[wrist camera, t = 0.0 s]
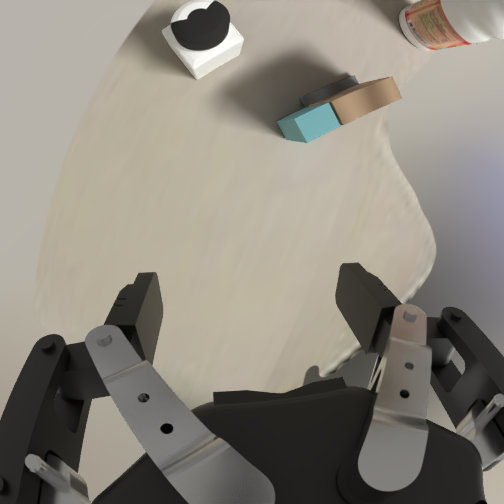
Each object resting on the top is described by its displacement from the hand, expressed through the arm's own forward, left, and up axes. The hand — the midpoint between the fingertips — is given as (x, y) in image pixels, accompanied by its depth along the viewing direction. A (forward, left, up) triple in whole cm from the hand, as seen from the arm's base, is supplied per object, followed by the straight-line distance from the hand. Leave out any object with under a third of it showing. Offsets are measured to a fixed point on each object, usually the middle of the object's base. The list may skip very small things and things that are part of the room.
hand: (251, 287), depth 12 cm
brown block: (-11, +16, -29) cm, 35 cm away
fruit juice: (-30, +33, -30) cm, 53 cm away
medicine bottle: (-19, -3, -30) cm, 35 cm away
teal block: (-8, +9, -29) cm, 31 cm away
